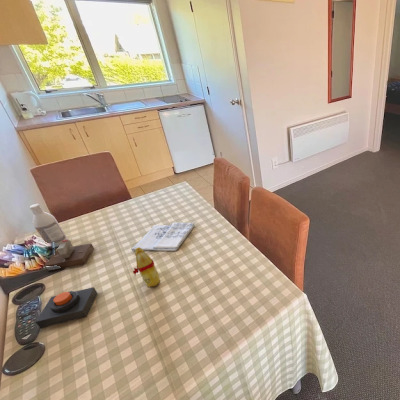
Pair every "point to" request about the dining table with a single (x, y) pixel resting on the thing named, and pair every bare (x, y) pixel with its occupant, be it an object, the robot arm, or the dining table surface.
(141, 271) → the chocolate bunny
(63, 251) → the knob
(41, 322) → the button housing
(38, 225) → the bath foam
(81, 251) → the dial panel
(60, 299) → the button
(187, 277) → the dining table surface
